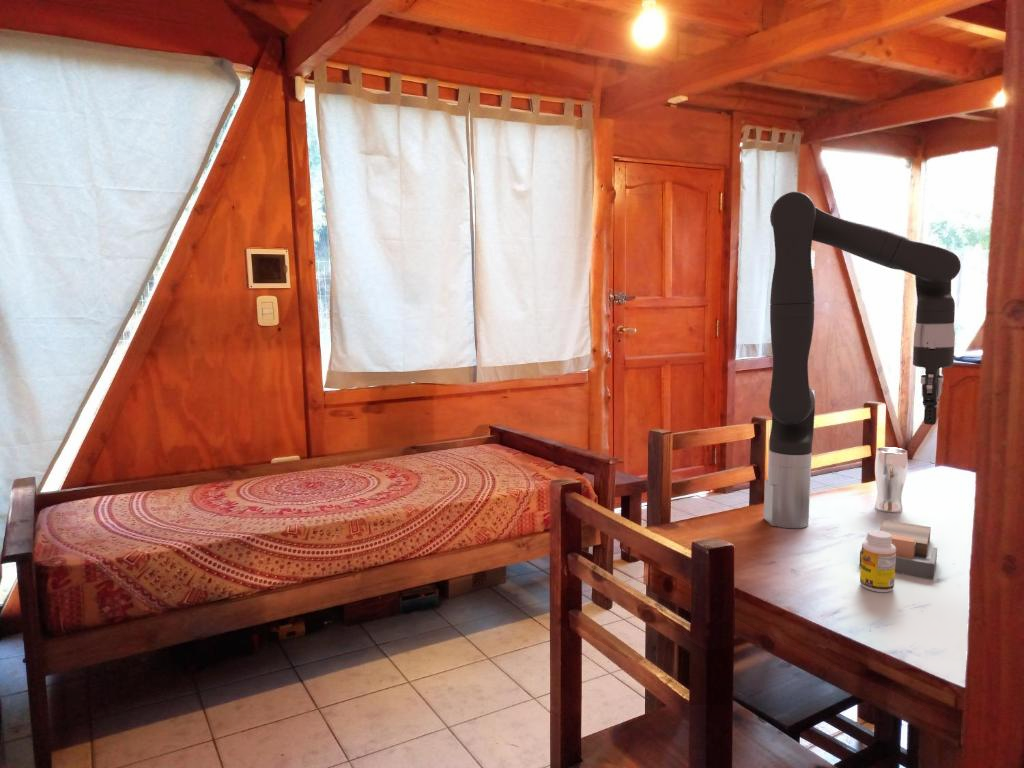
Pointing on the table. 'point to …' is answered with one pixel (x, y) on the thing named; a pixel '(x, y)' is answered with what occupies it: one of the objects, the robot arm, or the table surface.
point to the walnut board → (910, 534)
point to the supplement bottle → (878, 562)
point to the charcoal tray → (915, 565)
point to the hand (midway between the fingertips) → (930, 423)
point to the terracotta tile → (904, 546)
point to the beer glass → (890, 478)
